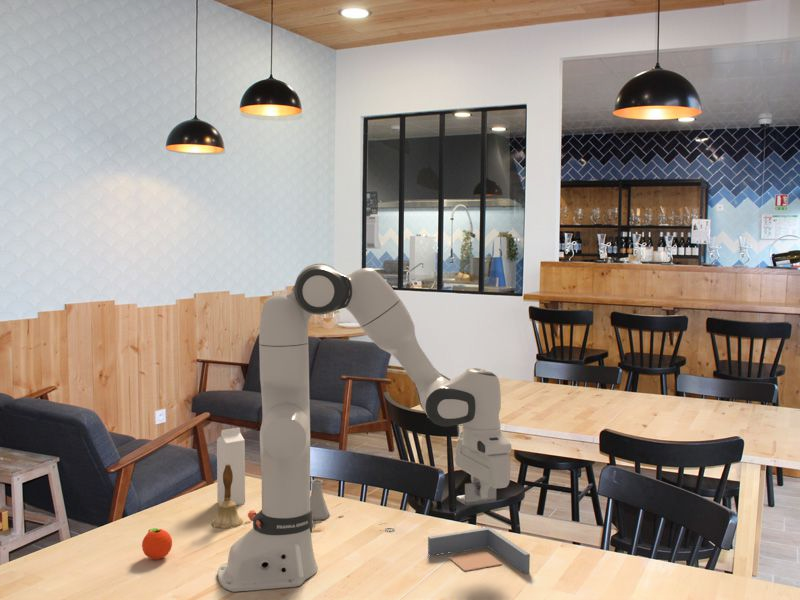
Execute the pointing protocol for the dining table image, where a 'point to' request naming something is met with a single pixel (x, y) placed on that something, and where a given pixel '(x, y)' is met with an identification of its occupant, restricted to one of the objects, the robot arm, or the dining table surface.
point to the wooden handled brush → (227, 505)
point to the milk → (231, 464)
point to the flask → (318, 501)
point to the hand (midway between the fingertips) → (480, 496)
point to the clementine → (157, 543)
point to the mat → (475, 561)
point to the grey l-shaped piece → (480, 545)
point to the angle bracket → (476, 495)
